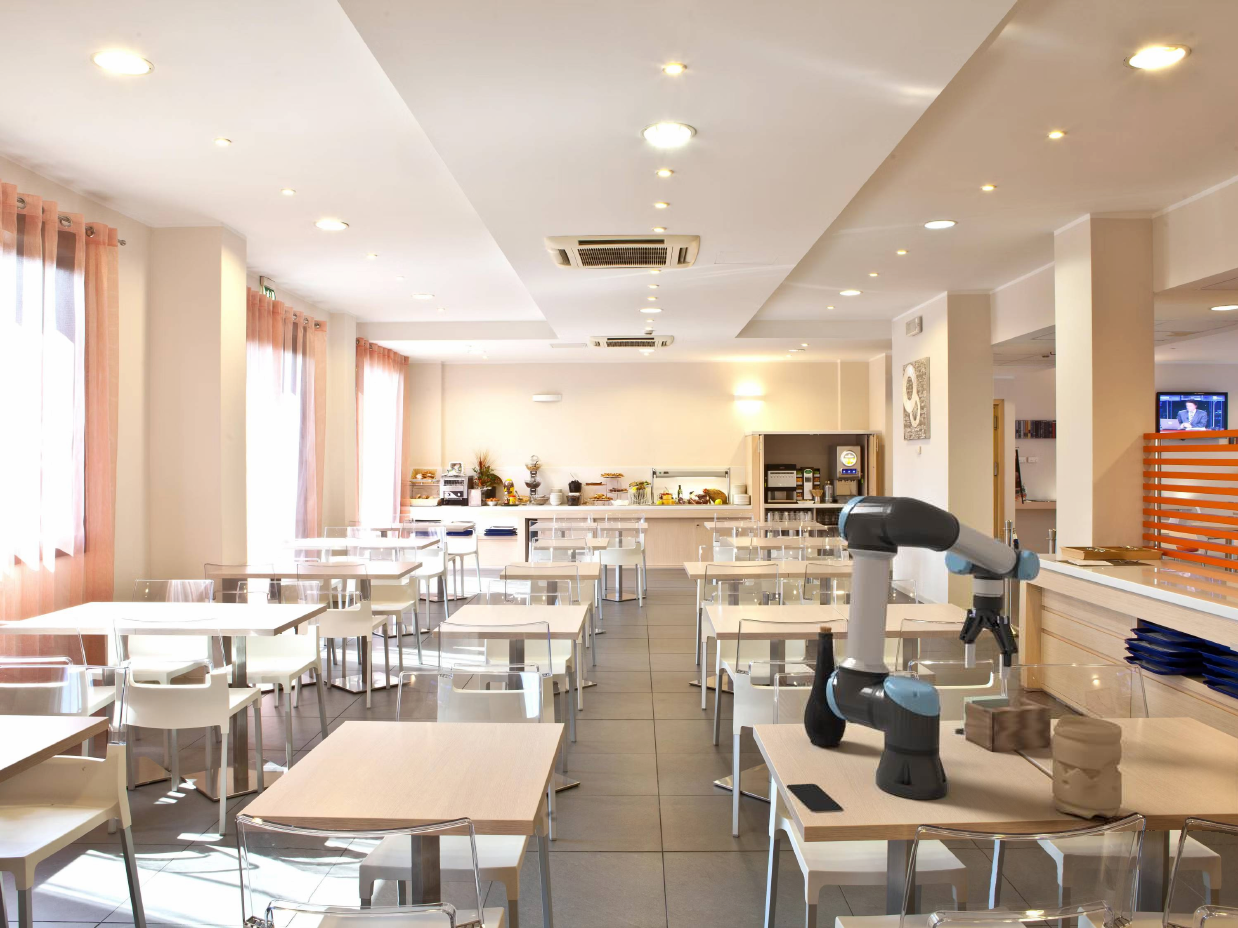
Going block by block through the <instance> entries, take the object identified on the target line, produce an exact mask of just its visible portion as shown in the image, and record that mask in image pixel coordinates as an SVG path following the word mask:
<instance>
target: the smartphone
mask: <svg viewBox="0 0 1238 928" xmlns="http://www.w3.org/2000/svg"><path fill="white" fill-rule="evenodd" d="M785 788H786V789H787V790H788V791H789V792H790V793H791V794H792V795H793V796H794V797H795V798H796V799H797V800H798V801H799V802H800V803H801V804H802V806H804V807H805V808H806V809H807V810H808V811H809V812H811V813H814V814H815V813H816V814H817V813H819V814H820V813H821V814H822V813H835V812H837V813H838V812H842V811H844V808H843V806H841V805H840V804H839V802H838V803H837V802H836V800H834V799H833V798H832V797H831V796H830V795H829V794H828V793H827V792H825V791H824V790H823V788H821V787H820V786H819V785H818V784H815V783H798V784H786V786H785Z"/></svg>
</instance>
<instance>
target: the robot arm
mask: <svg viewBox="0 0 1238 928" xmlns="http://www.w3.org/2000/svg"><path fill="white" fill-rule="evenodd" d="M838 531H839V533H840V536H841V538H842V539H843V541H845V542H846V543H847V547H846V549H847V551H848V552H849V554H850V555H851V557H852V567H851V569H852V570H851V581H850V584H851V585H850V594H849V595H850V598H849V612H848V614H849V615H848V626H847V636H846V637H847V640H846V651H845V652H846V654H845V657H844V659H842V660H841V661H840V662H838V663H839V664H838V669H835V671H834V672H833V673H832V674H831V678H830V679H829V680H828V683H827V690H826V693H827V700H828V703H829V706H830V708H831V709H832V710H833V712H834V713H835V714H836V715H837V716H838V717H840V718H842V719H845V720H846V722H849V723H850V724H856V725H860V726H862V727H866V728H869V729H872V730H876V731H879V732H882V733H883V736H884V737H883V740H884V742H883V743H884V744H883V746H884V747H883V751H882V754H881V757H880V759H879V763H878V766H877V768H876V771H875V784H876V786H877V787H878V788H879V789H881V790H882V791H884V792H886V793H889V794H891V795H894V796H898V797H902V798H908V799H916V800H935V799H936V800H937V799H940V798H944V797H945V796H946V795H947V794H948V791H949V790H948V788H949V787H948V786H949V785H948V783H949V782H948V778H947V775H946V772H945V769H944V766H943V763H942V760H941V755H940V740H941V739H940V733H941V731H940V728H941V724H940V722H941V719H940V718H941V714H940V713H941V710H942V709H941V703H940V693H939V691H938V689H937V688H936V687H935V686H934V685H933V684H931V683H929V682H927V681H925V680H923V679H920V678H916V677H913V676H906V675H900V674H899V675H890V668H889V667H888V666H887V665H886V663H885V661H884V659H885V646H886V645H885V643H886V630H887V616H888V615H887V614H888V603H889V600H888V598H889V585H890V570H891V561H892V559H894V558H895V557H896V556H897V555H898V552H899V549H898V548H918V549H919V548H920V549H927V550H930V551H933V552H935V553H936V552H937V553H942V552H946V553H945V556H944V564H945V567H946V568H947V569H948V571H949V572H950V573H952V574H954V575H958V576H965V575H970V576H971V575H972V577H973V578H972V579H973V580H972V592H973V593H974V594H973V596H972V607H973V608H968V609H967V610H966V612H967V613H966V617H965V621H964V623H963V625H962V628H961V630H960V633H959V637H958V638H959V640H960V641H962V642H963V643H964V656H965V660H964V661H965V664H964V665H965V666H964V667H965V668H966V669H973V668H974V669H975V668H976V651H977V650H976V647H977V646H976V639H977V638H978V636H979V635H980V633H981V632H982V631H983V629H985V630H988V631H989V633H991V634H992V635H993V637H994V639H995V642H996V643H997V645H998V647H999V649H1000V652H999V677H998V678H999V679H1000V680H1010V679H1011V667H1012V662H1013V661H1012V658H1013V657H1012V655H1014V654H1018V653H1019V649H1018V646H1017V643H1016V640H1015V637H1014V633H1013V631H1012V627H1011V621H1010V619H1011V618H1010V616H1009V615H1002V614H1001V611H1002V610H1004V597H1003V596H1001V595H1003V594H1004V579H1009V580H1016V581H1020V582H1021V581H1034V580H1035V579H1037V577H1038V576H1039V574H1040V568H1041V562H1040V560H1041V559H1040V557H1039V556H1038V554H1037V553H1036V552H1034V551H1031V550H1026V549H1016V548H1015V547H1012V546H1009V545H1007V544H1005V543H1004V541H1003V540H1002V539H1000V538H995V537H994V538H993V537H990V536H988V535H986V534H985V533H982V532H980V531H978V530H977V529H974V528H972V527H970V526H968V525H965V524H963V523H961V522H960V521H959V519H958V517H956V516H955V515H954V514H953V513H950V512H948V511H947V510H945V509H942V508H940V507H938V506H935V505H933V504H931V503H928V502H926V501H923V500H920V499H916V498H914V497H909V496H884V495H860V496H856V497H855V496H854V497H852V498H851V499H850V500H849V501H848V502H847V503H846V504H845V505H844V506H843V508H842V509H841V511H840V514H839V518H838Z"/></svg>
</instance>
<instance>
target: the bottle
mask: <svg viewBox="0 0 1238 928" xmlns="http://www.w3.org/2000/svg"><path fill="white" fill-rule="evenodd" d="M832 630H833V629H832V626H820V627H819V631H818V633H817V635H818V638H817V639H818V641H817V655H816V663H815V669H814V670H815V671H814V679H813V682H812V687H811V691H810V695H809V698H808V699H807V703H806V705H805V710H804V715H803V725H804V730H805V733H806V735H807V737H808V738H809V740H810V744H811V743H812V745H813V746H815V747H818V748H819V747H820V748H826V749H831V748H832V749H833V748H837V747H839V746H840V742H841V740H842V739H843V737H844V735H845V732H846V726H847V720H845V719H842V718H840V717H838V716H837V715H836V714H835V713H834V712H833V710H832V709H831V708H830V706H829V703H828V700H827V693H826V690H827V683H828V680H829V679H830V678H831V674H832V673H833V672H834V671H836V667H835V658H834V657H835V655H834V639H833V637H834V633H833V632H832Z"/></svg>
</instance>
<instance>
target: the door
mask: <svg viewBox="0 0 1238 928" xmlns="http://www.w3.org/2000/svg"><path fill="white" fill-rule="evenodd" d="M1010 700H1011V699H1010V697H1007V696H1004V695H1002V694H999V695H998V694H997V695H981V696H967V697H966V696H964V697H963V728H964V730H965V723H966V714H965V704H966V702H971V703H973V704H976V705H978V706H981V707H983V708H1001V707H1011V706H1010V703H1011V702H1010ZM963 735H964V736H965V732H964V733H963Z"/></svg>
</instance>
